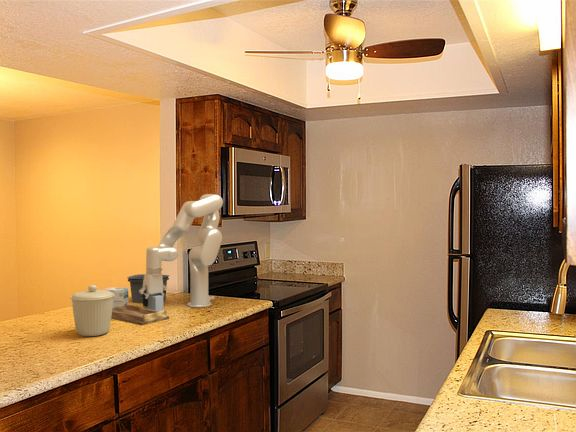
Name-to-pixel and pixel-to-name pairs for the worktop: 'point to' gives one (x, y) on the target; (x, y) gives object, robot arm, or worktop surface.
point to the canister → (92, 311)
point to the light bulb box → (119, 296)
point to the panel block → (155, 302)
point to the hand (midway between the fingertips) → (153, 304)
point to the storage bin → (141, 286)
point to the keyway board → (138, 314)
